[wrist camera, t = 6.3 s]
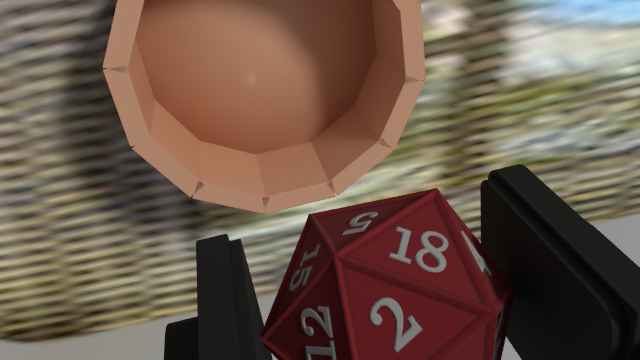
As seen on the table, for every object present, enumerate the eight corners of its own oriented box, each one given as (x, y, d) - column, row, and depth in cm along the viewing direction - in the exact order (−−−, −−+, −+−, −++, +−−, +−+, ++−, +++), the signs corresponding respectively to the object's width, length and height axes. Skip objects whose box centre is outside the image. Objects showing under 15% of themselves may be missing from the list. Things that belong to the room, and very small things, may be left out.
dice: (463, 297, 13) (567, 460, 9) (260, 338, 12) (288, 529, 9) (472, 141, 11) (607, 272, 7) (232, 180, 10) (256, 342, 7)
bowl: (371, -131, 23) (412, -129, 19) (396, 129, 29) (431, 173, 25) (79, -76, 22) (55, -62, 18) (166, 183, 28) (163, 238, 24)
